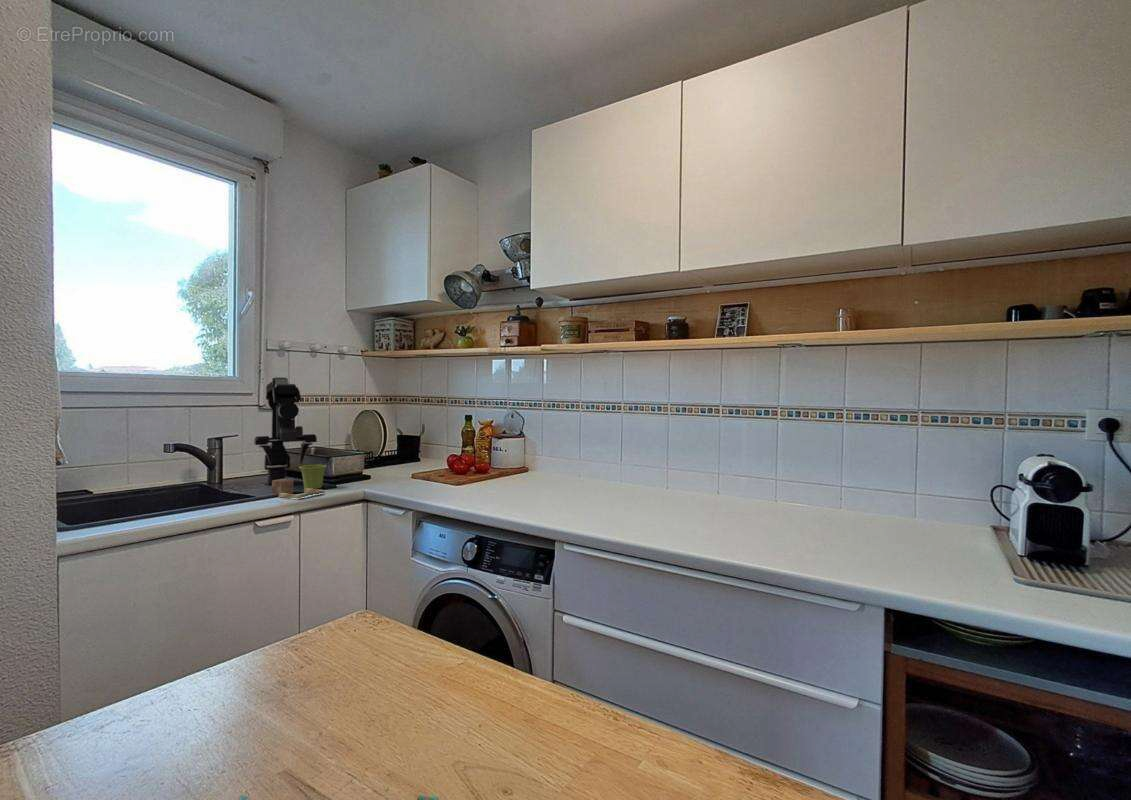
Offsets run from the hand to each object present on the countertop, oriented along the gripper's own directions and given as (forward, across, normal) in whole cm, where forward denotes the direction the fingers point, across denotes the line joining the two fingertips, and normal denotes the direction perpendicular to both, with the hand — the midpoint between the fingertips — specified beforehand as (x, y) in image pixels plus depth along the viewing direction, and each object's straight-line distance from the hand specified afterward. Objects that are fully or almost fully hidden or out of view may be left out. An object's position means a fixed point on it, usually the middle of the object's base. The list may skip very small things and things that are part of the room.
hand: (286, 464), depth 179 cm
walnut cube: (+12, 0, +12) cm, 17 cm away
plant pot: (+11, +11, +17) cm, 23 cm away
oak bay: (+12, +5, +3) cm, 14 cm away
